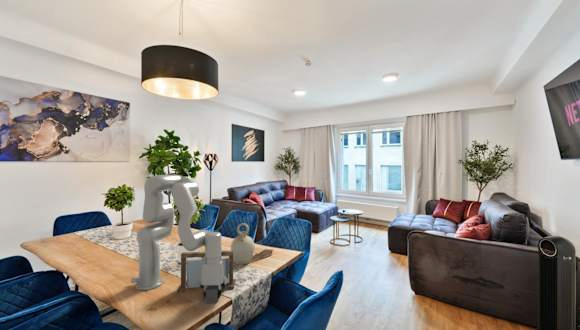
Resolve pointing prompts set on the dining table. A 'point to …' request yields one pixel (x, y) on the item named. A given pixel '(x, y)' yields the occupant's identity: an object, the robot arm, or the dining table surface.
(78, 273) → the dining table surface
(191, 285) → the grey door panel
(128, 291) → the dining table surface
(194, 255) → the door frame
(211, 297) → the doorstop
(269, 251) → the wooden fragment
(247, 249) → the jug
